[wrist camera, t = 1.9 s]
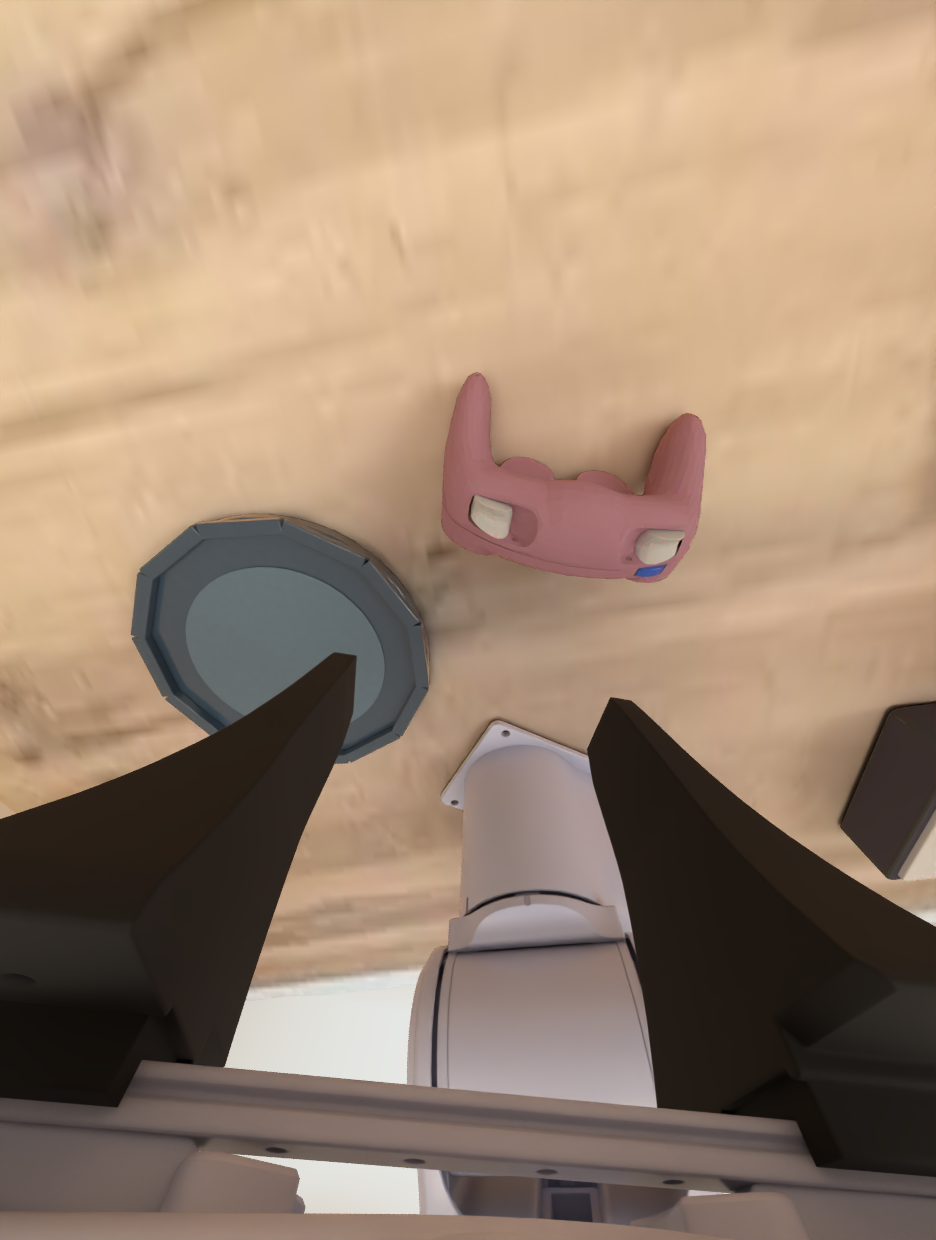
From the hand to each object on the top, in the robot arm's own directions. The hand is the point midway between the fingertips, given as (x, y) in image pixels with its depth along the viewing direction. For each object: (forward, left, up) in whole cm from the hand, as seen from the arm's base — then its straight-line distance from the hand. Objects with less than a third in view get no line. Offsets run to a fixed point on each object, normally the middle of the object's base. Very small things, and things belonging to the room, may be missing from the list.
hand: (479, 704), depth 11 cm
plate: (+7, +8, -10) cm, 15 cm away
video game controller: (-1, -6, -10) cm, 12 cm away
